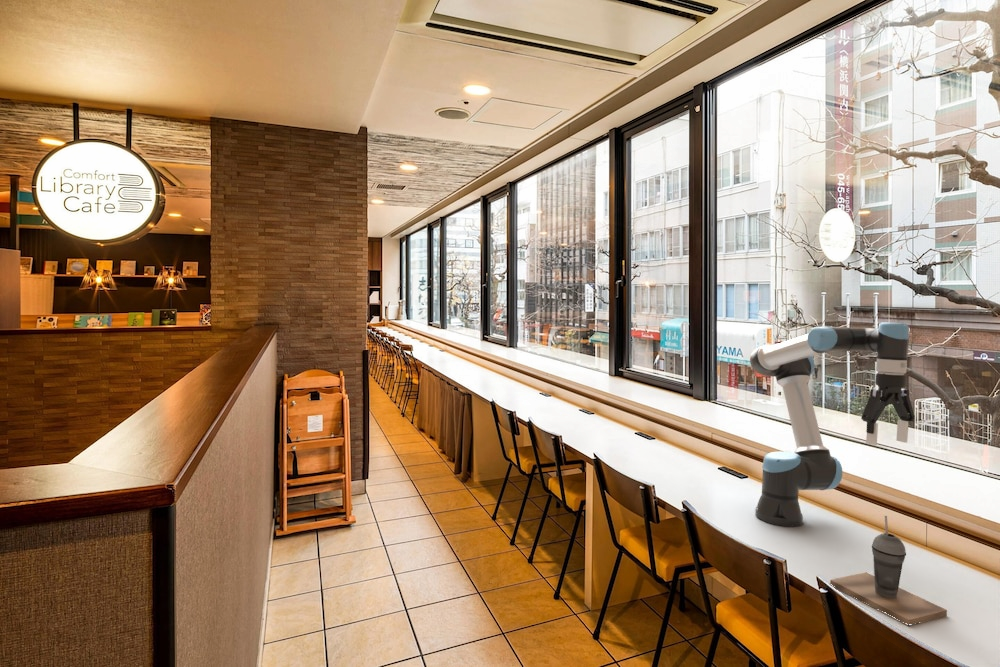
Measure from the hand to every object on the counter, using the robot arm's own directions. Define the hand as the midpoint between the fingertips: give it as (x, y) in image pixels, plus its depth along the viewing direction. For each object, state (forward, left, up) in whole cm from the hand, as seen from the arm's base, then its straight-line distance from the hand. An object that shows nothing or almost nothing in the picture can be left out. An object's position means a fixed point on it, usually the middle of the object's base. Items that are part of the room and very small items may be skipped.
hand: (886, 442), depth 165 cm
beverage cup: (+19, -26, -33) cm, 46 cm away
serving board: (+19, -26, -35) cm, 47 cm away
